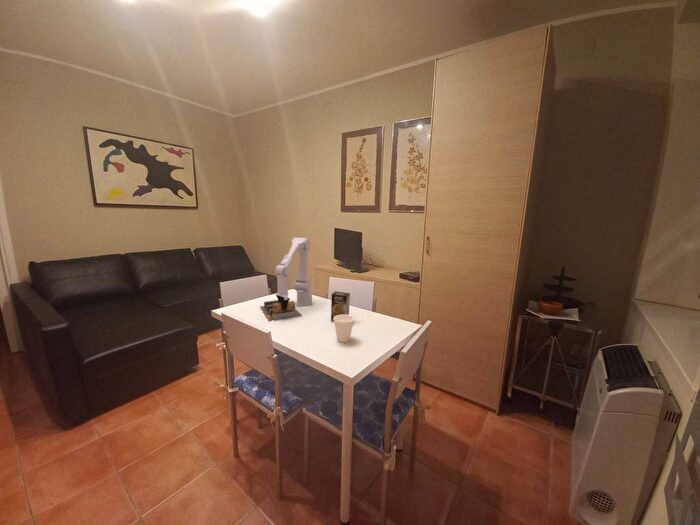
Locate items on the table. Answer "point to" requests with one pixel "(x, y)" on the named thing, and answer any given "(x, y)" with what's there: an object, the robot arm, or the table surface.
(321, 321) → the table surface
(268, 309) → the rack
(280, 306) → the brown wooden block
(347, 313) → the coffee box
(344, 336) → the cup
